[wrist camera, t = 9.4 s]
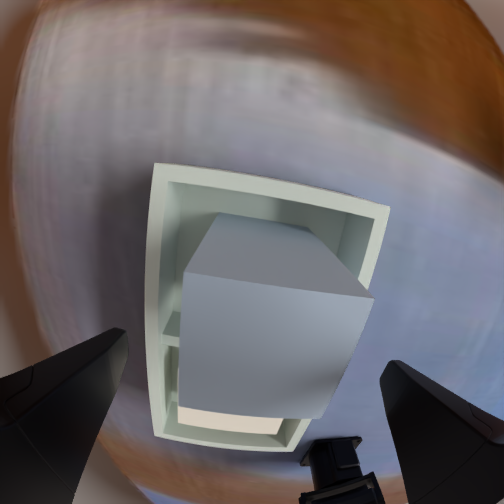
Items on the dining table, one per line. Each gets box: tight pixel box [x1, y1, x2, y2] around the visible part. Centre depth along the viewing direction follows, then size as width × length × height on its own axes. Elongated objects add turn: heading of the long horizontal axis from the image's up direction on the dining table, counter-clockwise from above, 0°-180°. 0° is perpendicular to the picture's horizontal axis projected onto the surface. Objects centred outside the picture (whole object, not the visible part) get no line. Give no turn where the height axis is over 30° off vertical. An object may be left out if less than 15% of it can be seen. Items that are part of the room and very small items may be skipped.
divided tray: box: [145, 163, 391, 452], centre depth 18 cm, size 21×12×5 cm, turn 170°
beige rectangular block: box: [178, 367, 284, 434], centre depth 19 cm, size 6×8×4 cm
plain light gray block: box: [178, 212, 375, 419], centre depth 13 cm, size 6×6×10 cm
